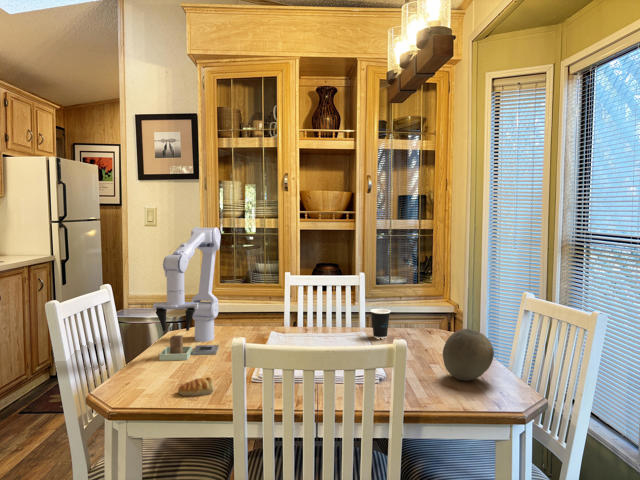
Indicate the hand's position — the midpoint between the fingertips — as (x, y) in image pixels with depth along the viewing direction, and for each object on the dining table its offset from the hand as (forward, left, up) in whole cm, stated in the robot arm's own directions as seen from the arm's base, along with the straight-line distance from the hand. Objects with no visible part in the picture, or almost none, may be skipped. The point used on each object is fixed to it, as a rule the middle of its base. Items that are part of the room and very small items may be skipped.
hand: (176, 330), depth 157 cm
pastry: (+30, +12, -10) cm, 34 cm away
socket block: (-5, +9, -10) cm, 14 cm away
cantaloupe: (+26, +91, -10) cm, 95 cm away
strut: (0, 0, -9) cm, 9 cm away
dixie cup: (-22, +75, -10) cm, 79 cm away
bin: (0, 0, -10) cm, 10 cm away
